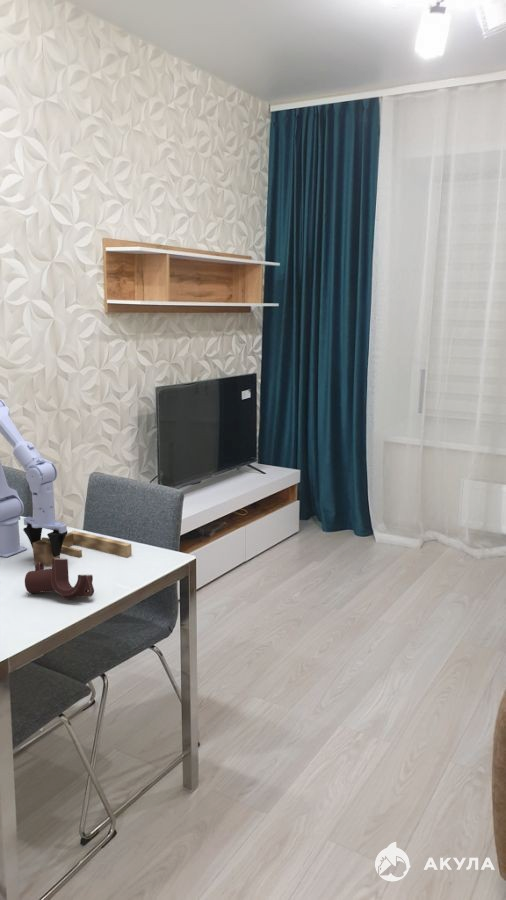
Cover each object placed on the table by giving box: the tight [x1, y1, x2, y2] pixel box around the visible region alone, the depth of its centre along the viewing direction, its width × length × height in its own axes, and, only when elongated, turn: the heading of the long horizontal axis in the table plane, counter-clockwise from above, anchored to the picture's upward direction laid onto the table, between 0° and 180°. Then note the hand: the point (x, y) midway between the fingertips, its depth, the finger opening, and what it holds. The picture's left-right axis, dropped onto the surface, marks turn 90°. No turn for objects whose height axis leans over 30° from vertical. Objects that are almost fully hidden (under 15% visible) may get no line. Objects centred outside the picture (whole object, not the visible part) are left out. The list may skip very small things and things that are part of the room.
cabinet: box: [32, 537, 61, 568], centre depth 200 cm, size 5×5×7 cm
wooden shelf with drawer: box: [60, 530, 133, 559], centre depth 207 cm, size 22×9×4 cm, turn 60°
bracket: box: [24, 557, 95, 599], centre depth 178 cm, size 6×17×10 cm, turn 77°
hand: (46, 553), depth 200 cm, fingers open, 7 cm apart
